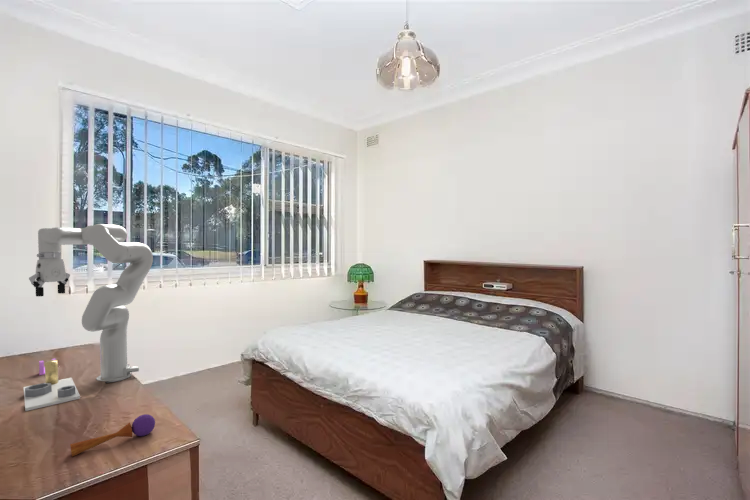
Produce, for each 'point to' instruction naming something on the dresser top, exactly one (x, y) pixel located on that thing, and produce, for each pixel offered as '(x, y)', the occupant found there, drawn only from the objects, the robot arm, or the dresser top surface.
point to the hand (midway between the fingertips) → (50, 294)
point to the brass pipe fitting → (51, 372)
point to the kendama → (118, 434)
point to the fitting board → (50, 394)
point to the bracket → (42, 367)
